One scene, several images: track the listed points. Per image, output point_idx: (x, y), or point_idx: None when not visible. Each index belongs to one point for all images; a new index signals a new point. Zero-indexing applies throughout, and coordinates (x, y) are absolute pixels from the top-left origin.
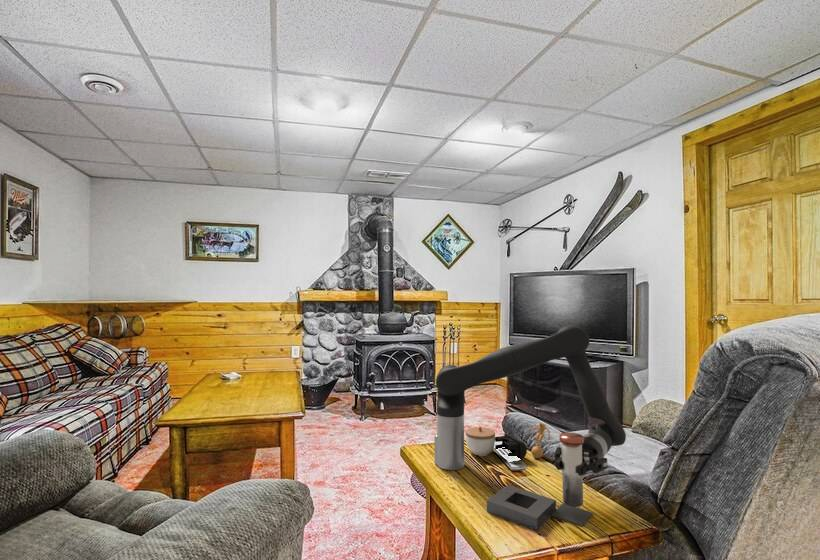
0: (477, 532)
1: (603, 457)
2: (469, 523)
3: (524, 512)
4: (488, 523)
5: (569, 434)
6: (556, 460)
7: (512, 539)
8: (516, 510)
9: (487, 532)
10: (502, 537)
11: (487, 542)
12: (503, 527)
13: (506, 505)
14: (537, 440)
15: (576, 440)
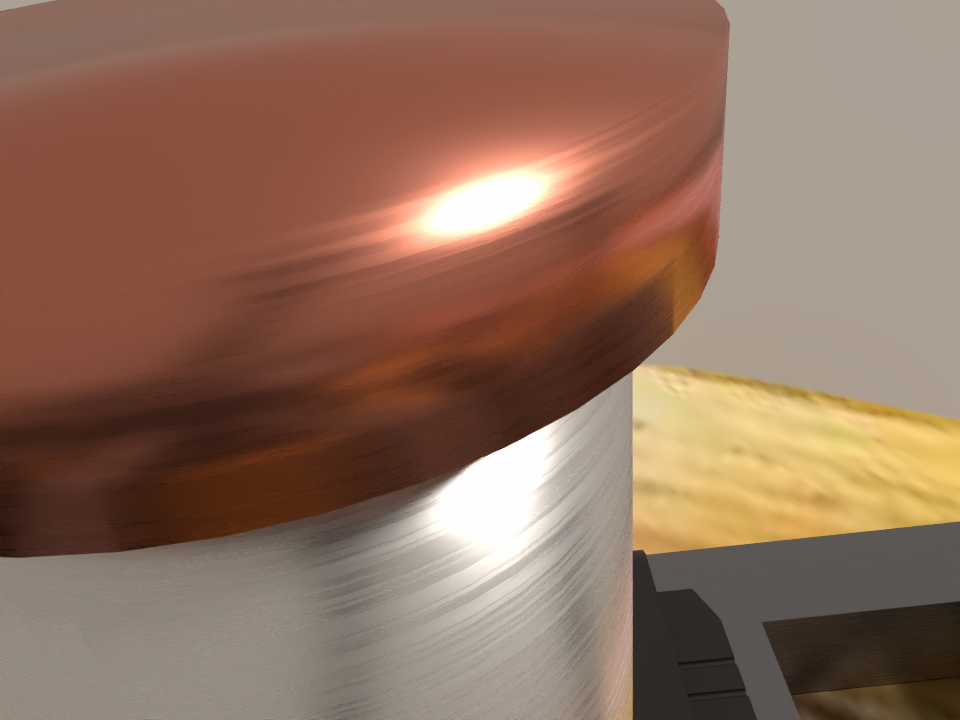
0: (832, 402)
1: None
2: (953, 426)
3: (730, 563)
4: (891, 491)
5: (343, 77)
6: (736, 665)
7: (645, 470)
8: (797, 546)
9: (798, 432)
10: (700, 450)
11: (716, 384)
12: (788, 519)
13: (920, 549)
14: None
15: (4, 14)
